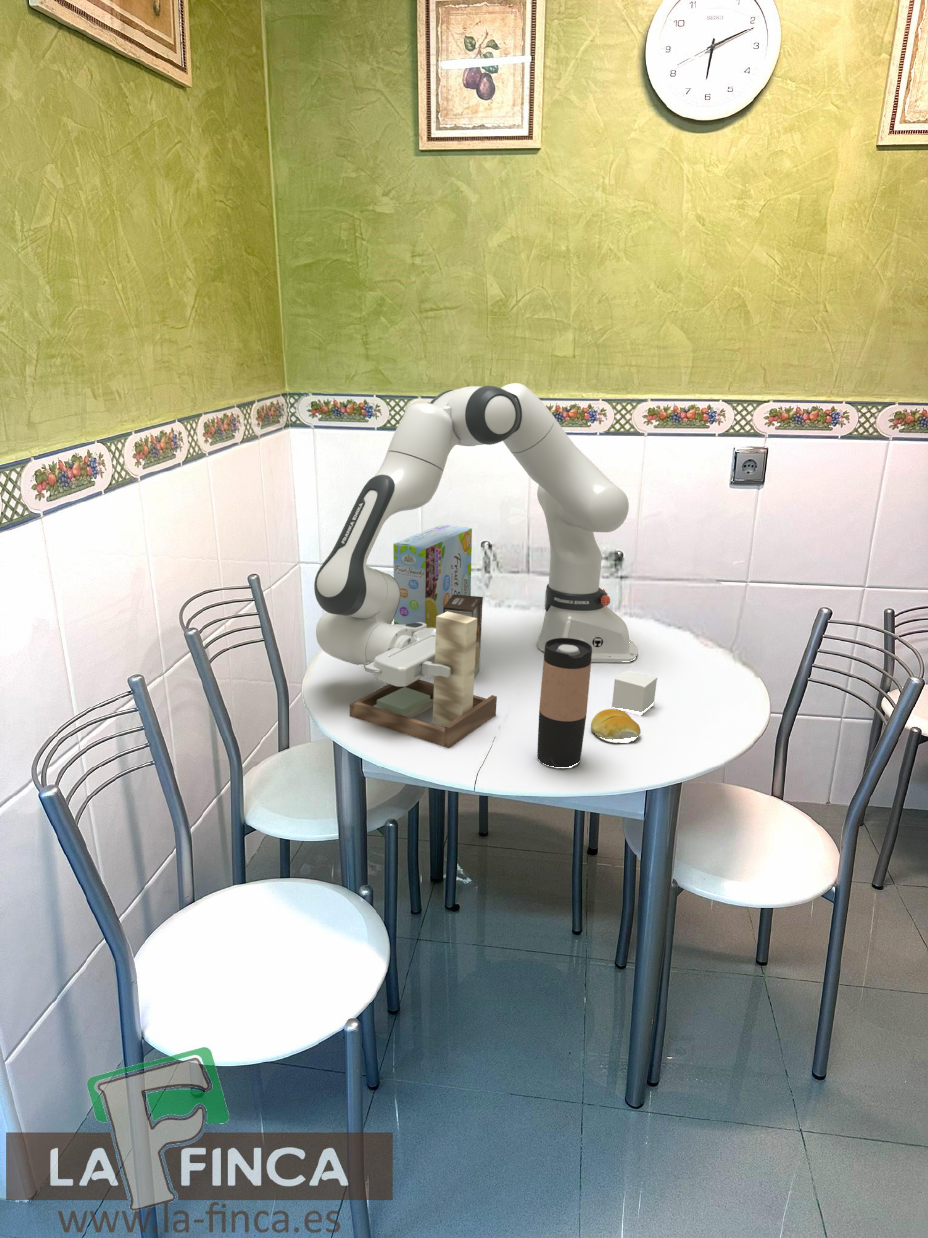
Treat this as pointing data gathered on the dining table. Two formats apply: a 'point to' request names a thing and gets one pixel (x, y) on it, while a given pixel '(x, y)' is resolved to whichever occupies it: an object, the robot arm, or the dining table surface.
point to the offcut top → (403, 700)
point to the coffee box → (472, 609)
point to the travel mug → (563, 701)
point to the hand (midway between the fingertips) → (458, 667)
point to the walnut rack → (419, 729)
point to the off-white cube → (634, 691)
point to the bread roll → (614, 725)
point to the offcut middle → (415, 711)
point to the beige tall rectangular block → (454, 666)
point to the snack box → (431, 572)
